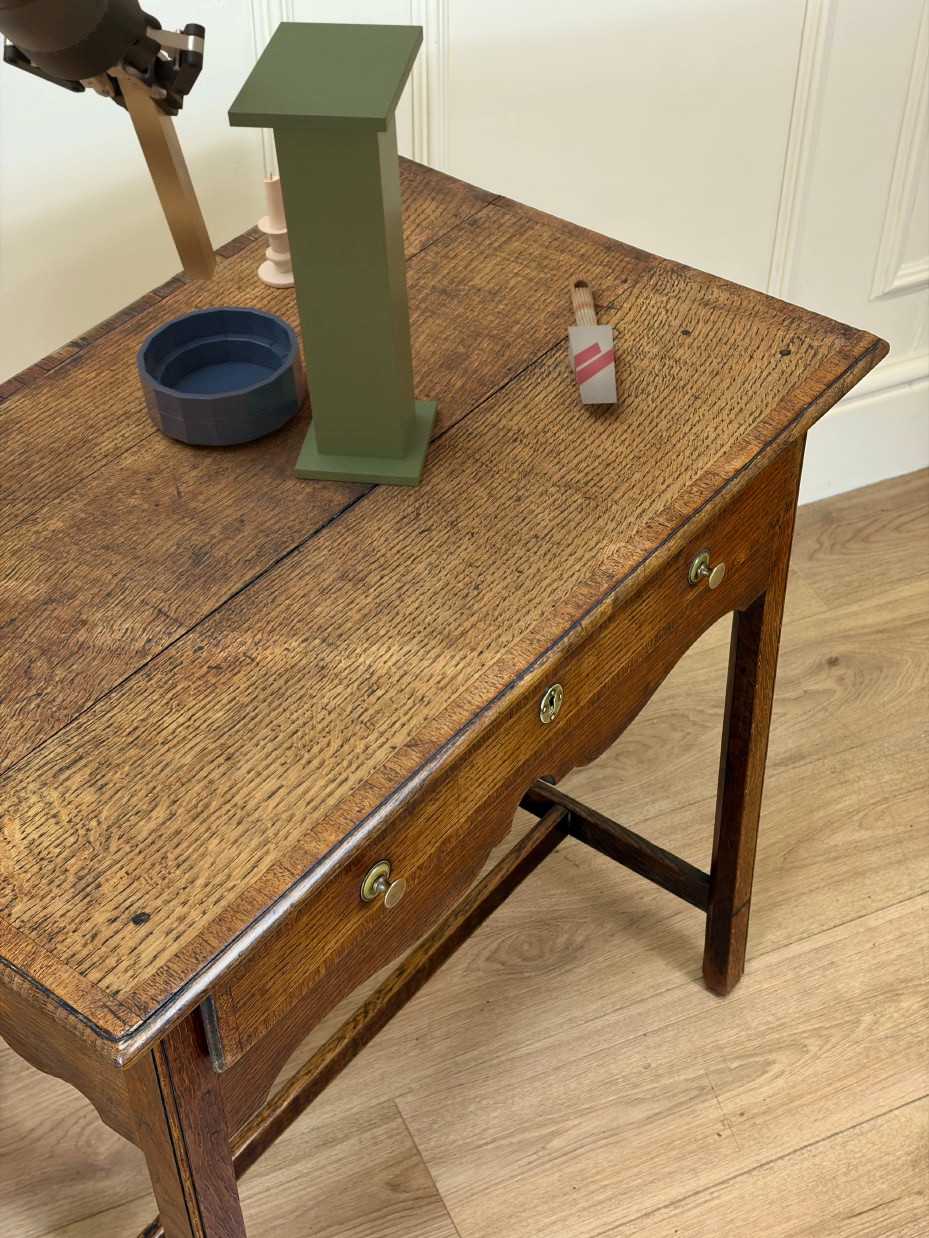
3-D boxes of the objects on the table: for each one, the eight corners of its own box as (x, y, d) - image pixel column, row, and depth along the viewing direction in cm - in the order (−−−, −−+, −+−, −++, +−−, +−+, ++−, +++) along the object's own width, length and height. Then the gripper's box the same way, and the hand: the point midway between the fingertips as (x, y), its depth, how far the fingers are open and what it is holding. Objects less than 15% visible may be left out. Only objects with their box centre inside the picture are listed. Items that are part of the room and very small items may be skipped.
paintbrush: (576, 388, 106) (560, 268, 121) (575, 417, 108) (559, 295, 122) (623, 387, 106) (601, 267, 120) (622, 415, 108) (600, 293, 122)
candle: (248, 273, 126) (231, 171, 118) (292, 254, 128) (278, 153, 121) (278, 294, 123) (263, 192, 115) (323, 274, 125) (311, 173, 118)
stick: (134, 45, 83) (142, 25, 84) (104, 44, 83) (112, 24, 84) (211, 280, 101) (217, 262, 102) (187, 279, 101) (192, 260, 102)
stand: (289, 494, 103) (226, 111, 80) (327, 389, 112) (280, 21, 90) (414, 503, 101) (385, 117, 79) (441, 396, 111) (422, 25, 89)
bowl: (129, 447, 107) (114, 393, 103) (176, 355, 116) (164, 302, 112) (285, 458, 106) (276, 403, 102) (320, 364, 115) (313, 310, 111)
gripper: (169, -83, 72) (257, 49, 89) (-66, -87, 73) (64, 44, 91) (159, 53, 72) (249, 160, 89) (-75, 47, 74) (57, 152, 91)
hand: (155, 101), depth 90 cm, fingers closed on stick, 2 cm apart
